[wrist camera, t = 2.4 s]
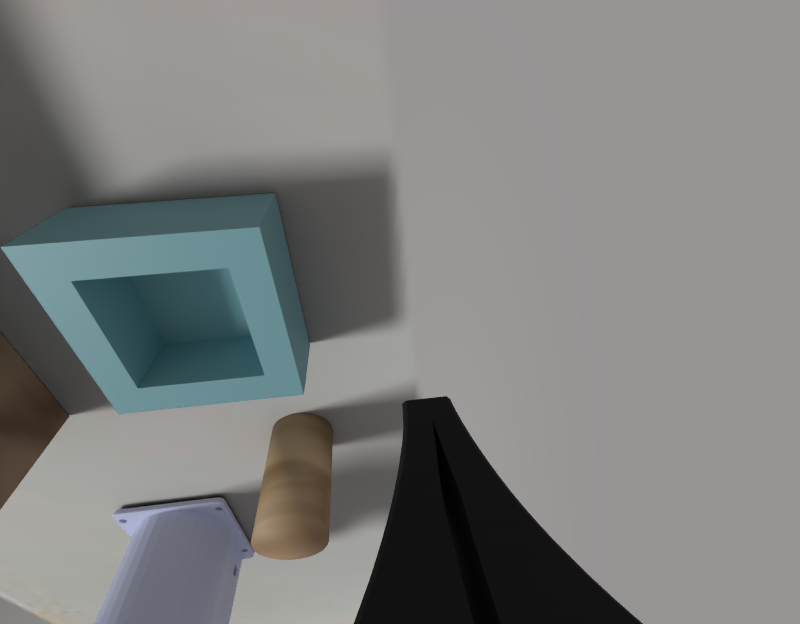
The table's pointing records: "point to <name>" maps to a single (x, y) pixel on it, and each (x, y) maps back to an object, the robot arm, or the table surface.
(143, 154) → the table surface
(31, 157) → the table surface
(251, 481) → the table surface
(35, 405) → the wall
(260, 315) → the socket block
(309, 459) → the dowel
